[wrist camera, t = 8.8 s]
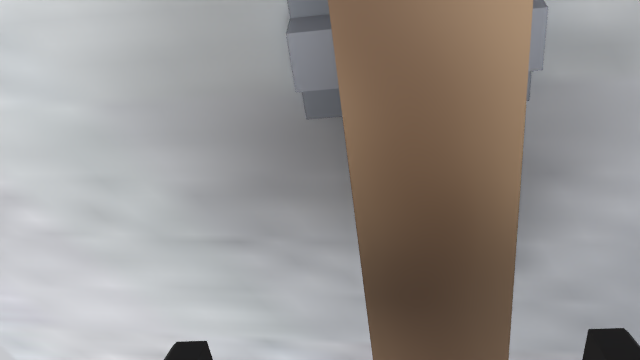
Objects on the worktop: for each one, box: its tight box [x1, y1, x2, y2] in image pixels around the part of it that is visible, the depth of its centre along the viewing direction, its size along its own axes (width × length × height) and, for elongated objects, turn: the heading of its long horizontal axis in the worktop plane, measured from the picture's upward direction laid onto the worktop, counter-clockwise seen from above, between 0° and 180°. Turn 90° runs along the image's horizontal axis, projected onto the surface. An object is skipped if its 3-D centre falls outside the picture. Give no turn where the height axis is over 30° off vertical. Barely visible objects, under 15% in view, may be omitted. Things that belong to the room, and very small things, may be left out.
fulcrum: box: [286, 0, 548, 119], centre depth 18 cm, size 7×5×2 cm
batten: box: [328, 0, 533, 360], centre depth 15 cm, size 4×16×6 cm, turn 7°
